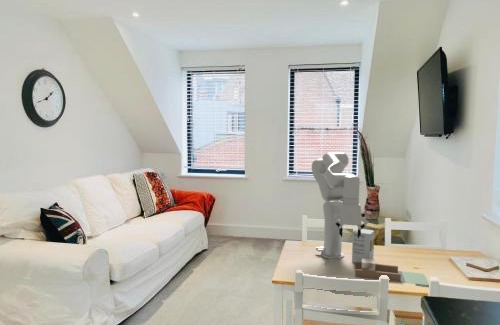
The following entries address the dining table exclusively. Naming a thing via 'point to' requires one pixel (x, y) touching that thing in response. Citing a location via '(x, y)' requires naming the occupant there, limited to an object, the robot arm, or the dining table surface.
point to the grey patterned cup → (368, 264)
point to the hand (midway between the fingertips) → (349, 236)
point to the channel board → (391, 274)
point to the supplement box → (362, 245)
